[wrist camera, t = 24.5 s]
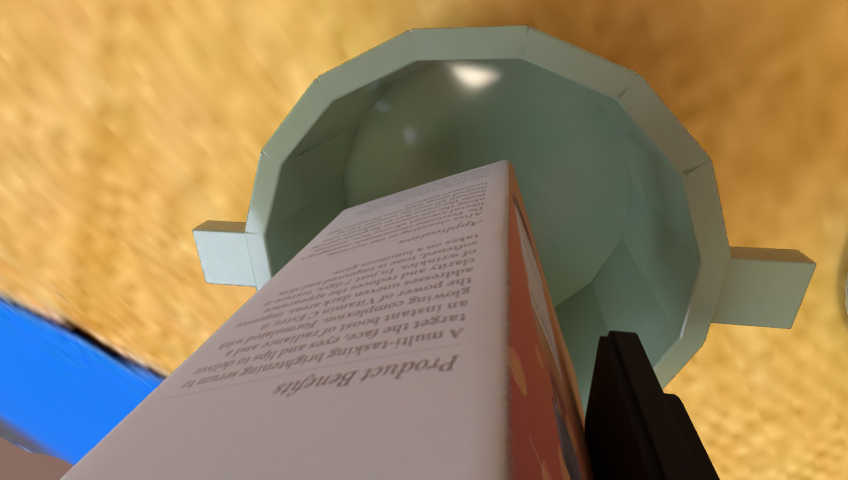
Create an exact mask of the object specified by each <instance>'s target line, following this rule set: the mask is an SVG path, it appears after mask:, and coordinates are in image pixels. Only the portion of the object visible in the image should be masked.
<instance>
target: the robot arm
mask: <svg viewBox="0 0 848 480" xmlns="http://www.w3.org/2000/svg"><path fill="white" fill-rule="evenodd" d="M584 430H585V438H586V443H587V447H588V452H589V457H590V462H591V467H592V472H593V477H594V480H720V479H719V477H718V475H717V473H716V471H715V469H714V467H713V465H712V463H711V461H710V459H709V457H708V454H707V452H706V450H705V448H704V446H703V444H702V442H701V440H700V438H699V436H698V434H697V432H696V430H695V428H694V426H693V424H692V422H691V420H690V418H689V415H688V413H687V411H686V409H685V407H684V405H683V403H682V402H681V400H680V398H679V397H678V396H676V395H675V394H666V393H664V392H663V390H662V388H661V386H660V383H659V381H658V379H657V377H656V374H655V372H654V370H653V368H652V365H651V363H650V361H649V359H648V356H647V354H646V352H645V350H644V348H643V345H642V343H641V341H640V339H639V336H638V335H637V333H635V332H624V331H612V330H611V331H609V333H608V336H600V338H599V342H598V348H597V353H596V359H595V365H594V370H593V376H592V381H591V387H590V393H589V398H588V404H587V409H586V415H585V423H584Z"/></svg>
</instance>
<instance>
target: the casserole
mask: <svg viewBox="0 0 848 480" xmlns="http://www.w3.org/2000/svg"><path fill="white" fill-rule="evenodd" d="M502 160H509V161H510V162H511V164H512V166H513V168H514V172H515V175H516V179H517V182H518V185H519V189H520V192H521V195H522V199H523V202H524V206H525V209H526V212H527V216H528V219H529V223H530V226H531V230H532V233H533V236H534V240H535V243H536V247H537V250H538V254H539V257H540V261H541V264H542V268H543V271H544V275H545V278H546V282H547V285H548V289H549V292H550V296H551V299H552V302H553V306H554V309H555V312H556V316H557V319H558V322H559V325H560V328H561V331H562V335H563V338H564V341H565V344H566V346H567V349H568V352H569V355H570V358H571V361H572V364H573V367H574V369H575V373H576V378H577V383H578V388H579V392H580V397H581V402H582V407H583V412H584V417H585V415H586V409H587V404H588V398H589V393H590V387H591V381H592V376H593V370H594V365H595V359H596V353H597V348H598V342H599V338H600V336H608V333H609V331H611V330H612V331H624V332H635V333H637V335H638V336H639V339H640V341H641V343H642V345H643V348H644V350H645V352H646V354H647V356H648V359H649V361H650V363H651V365H652V368H653V370H654V372H655V374H656V377H657V379H658V381H659V383H660V386H661V388H662V390H663V389H664V388H665V387H666V385H667V384H668V383H669V382H670V381H671V380H672V379H673V378H674V377H675V376H676V374H677V373H678V372H679V371H680V370H681V369H682V368H683V367H684V366H685V364H686V363H687V362H688V361H689V360H690V359H691V358H692V357H693V356H694V355H695V353H696V352H697V351H698V350H699V349H700V348H701V347H702V346H703V343H704V342H705V340H706V337H707V334H708V330H709V327H710V324H711V323H720V324H732V325H745V326H758V327H771V328H784V329H791V327H792V325H793V322H794V320H795V317H796V315H797V312H798V310H799V307H800V305H801V302H802V300H803V297H804V295H805V292H806V290H807V287H808V285H809V282H810V280H811V277H812V275H813V272H814V270H815V267H816V263H815V262H814V261H812V260H811V259H810V258H808V257H807V256H805V255H804V254H803V253H801V252H800V251H798V250H791V249H771V248H751V247H732V246H729V243H728V238H727V233H726V228H725V223H724V218H723V213H722V208H721V203H720V198H719V193H718V188H717V183H716V178H715V173H714V168H713V164H712V160H711V158H710V157H709V155H708V154H707V153H706V152H705V151H704V149H703V148H702V147H701V146H700V145H699V143H698V142H697V141H696V140H695V139H694V137H693V136H692V135H691V134H690V133H689V132H688V130H687V129H686V128H685V127H684V126H683V124H682V123H681V122H680V121H679V120H678V118H677V117H676V116H675V115H674V114H673V112H672V111H671V110H670V109H669V108H668V106H667V105H666V104H665V103H664V102H663V100H662V99H661V98H660V97H659V96H658V94H657V93H656V92H655V91H654V90H653V88H652V87H651V86H650V85H649V84H648V82H647V81H646V80H645V79H644V78H643V77H642V75H641V74H638V73H636V71H634V70H631V69H629V68H627V67H624V66H622V65H620V64H618V63H615V62H613V61H611V60H608V59H606V58H604V57H601V56H599V55H597V54H594V53H592V52H590V51H588V50H585V49H583V48H581V47H578V46H576V45H574V44H571V43H569V42H567V41H564V40H562V39H560V38H558V37H555V36H553V35H551V34H548V33H546V32H544V31H541V30H539V29H537V28H534V27H528V25H510V26H479V27H448V28H417V29H411V30H407V31H405V32H403V33H401V34H399V35H398V36H396V37H394V38H392V39H390V40H388V41H386V42H384V43H382V44H380V45H378V46H376V47H374V48H372V49H370V50H368V51H366V52H364V53H362V54H360V55H358V56H356V57H354V58H353V59H351V60H349V61H347V62H345V63H343V64H341V65H339V66H337V67H335V68H333V69H331V70H329V71H327V72H325V73H323V74H321V75H319V76H318V78H316V79H314V81H313V82H312V83H311V85H310V86H309V87H308V89H307V90H306V91H305V93H304V94H303V95H302V97H301V98H300V99H299V101H298V102H297V103H296V105H295V106H294V107H293V109H292V110H291V111H290V113H289V114H288V115H287V117H286V118H285V119H284V121H283V122H282V123H281V124H280V126H279V127H278V128H277V130H276V131H275V132H274V134H273V135H272V136H271V138H270V139H269V140H268V142H267V143H266V144H265V146H264V147H263V148H262V151H261V153H260V157H259V162H258V167H257V172H256V177H255V181H254V186H253V191H252V196H251V201H250V206H249V211H248V216H247V221H246V222H230V221H210V220H208V221H206V222H204V223H202V224H201V225H199V226H197V227H195V228H194V229H193V230H192V232H193V235H194V239H195V243H196V247H197V250H198V254H199V258H200V262H201V266H202V269H203V273H204V277H205V281H206V283H212V284H225V285H237V286H250V287H256V289H257V292H258V291H259V290H260V289H261V288H262V287H263V286H264V285H265V284H266V283H267V282H268V281H269V280H270V279H271V278H272V277H274V276H275V275H276V274H277V273H278V272H279V271H280V270H281V269H282V268H283V267H284V266H285V265H286V264H287V263H288V262H290V261H291V260H292V259H293V258H294V257H295V256H296V255H297V254H298V253H299V252H300V251H301V250H302V249H303V248H304V247H305V246H306V245H308V244H309V243H310V242H311V241H312V240H313V239H314V238H315V237H316V236H317V235H318V234H319V233H320V232H321V231H322V230H323V229H325V228H326V227H327V226H328V225H329V224H330V223H331V222H332V221H333V220H334V219H335V218H336V217H337V216H338V215H339V214H340V213H341V212H342V211H343V210H345V209H348V208H351V207H354V206H357V205H360V204H363V203H366V202H369V201H372V200H375V199H378V198H382V197H385V196H388V195H391V194H395V193H398V192H401V191H404V190H407V189H410V188H414V187H417V186H420V185H423V184H426V183H429V182H433V181H436V180H439V179H442V178H445V177H449V176H452V175H455V174H458V173H462V172H465V171H468V170H471V169H475V168H478V167H482V166H485V165H488V164H492V163H495V162H498V161H502Z"/></svg>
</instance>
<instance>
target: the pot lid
mask: <svg viewBox="0 0 848 480" xmlns="http://www.w3.org/2000/svg"><path fill="white" fill-rule="evenodd" d="M845 300H846V310H847V314H848V273H847V279H846V285H845Z"/></svg>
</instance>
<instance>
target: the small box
mask: <svg viewBox="0 0 848 480" xmlns="http://www.w3.org/2000/svg"><path fill="white" fill-rule="evenodd" d="M584 423H585V417H584V412H583V407H582V402H581V397H580V392H579V388H578V383H577V378H576V373H575V369H574V367H573V364H572V361H571V358H570V355H569V352H568V349H567V346H566V344H565V341H564V338H563V335H562V331H561V328H560V325H559V322H558V319H557V316H556V312H555V309H554V306H553V302H552V299H551V296H550V292H549V289H548V285H547V282H546V278H545V275H544V271H543V268H542V264H541V261H540V257H539V254H538V250H537V247H536V243H535V240H534V236H533V233H532V230H531V226H530V223H529V219H528V216H527V212H526V209H525V206H524V202H523V199H522V195H521V192H520V189H519V185H518V182H517V179H516V175H515V172H514V168H513V166H512V164H511V162H510V161H509V160H502V161H498V162H495V163H492V164H488V165H485V166H482V167H478V168H475V169H471V170H468V171H465V172H462V173H458V174H455V175H452V176H449V177H445V178H442V179H439V180H436V181H433V182H429V183H426V184H423V185H420V186H417V187H414V188H410V189H407V190H404V191H401V192H398V193H395V194H391V195H388V196H385V197H382V198H378V199H375V200H372V201H369V202H366V203H363V204H360V205H357V206H354V207H351V208H348V209H345V210H343V211H342V212H341V213H340V214H339V215H338V216H337V217H336V218H335V219H334V220H333V221H332V222H331V223H330V224H329V225H328V226H327V227H326V228H325V229H323V230H322V231H321V232H320V233H319V234H318V235H317V236H316V237H315V238H314V239H313V240H312V241H311V242H310V243H309V244H308V245H306V246H305V247H304V248H303V249H302V250H301V251H300V252H299V253H298V254H297V255H296V256H295V257H294V258H293V259H292V260H291V261H290V262H288V263H287V264H286V265H285V266H284V267H283V268H282V269H281V270H280V271H279V272H278V273H277V274H276V275H275V276H274V277H272V278H271V279H270V280H269V281H268V282H267V283H266V284H265V285H264V286H263V287H262V288H261V289H260V290H259V291H258V292H257V293H256V294H255V295H254V296H252V297H251V298H250V299H249V300H248V301H247V302H246V303H245V304H244V305H243V306H242V307H241V308H240V309H239V310H238V311H237V312H236V313H235V314H234V315H233V316H231V317H230V318H229V319H228V320H227V321H226V322H225V323H224V324H223V325H222V326H221V327H220V328H219V329H218V330H217V331H216V332H215V333H214V334H213V335H212V336H211V337H210V338H209V339H207V340H206V341H205V342H204V343H203V344H202V345H201V346H200V347H199V348H198V349H197V350H196V351H195V352H194V353H193V354H192V355H191V356H189V357H188V358H187V359H186V360H185V361H184V362H183V363H182V364H181V365H180V366H179V367H178V368H177V369H176V370H175V371H173V372H172V373H171V374H170V375H169V376H168V377H167V378H166V379H165V380H164V381H163V382H162V383H161V384H160V385H159V386H158V387H157V388H156V389H155V390H154V391H153V392H151V393H150V394H149V395H148V396H147V397H146V398H145V399H144V400H143V401H142V402H141V403H140V404H139V405H138V406H137V407H136V408H135V409H134V410H133V411H132V412H130V413H129V414H128V415H127V416H126V417H125V418H124V419H123V420H122V421H121V422H120V423H119V424H118V425H117V426H116V427H115V428H114V429H113V430H112V431H110V432H109V433H108V434H107V435H106V436H105V437H104V438H103V439H102V440H101V441H100V442H99V443H98V444H97V445H96V446H95V447H94V448H93V449H92V450H90V451H89V452H88V453H87V454H86V455H85V456H84V457H83V458H82V459H81V460H80V461H79V462H78V463H77V464H76V465H75V466H73V467H72V468H71V470H69V471H68V472H67V473H66V474H65V475H64V476H63V477H62V478H61V479H60V480H594V477H593V472H592V467H591V462H590V457H589V452H588V447H587V443H586V438H585V430H584Z"/></svg>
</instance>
